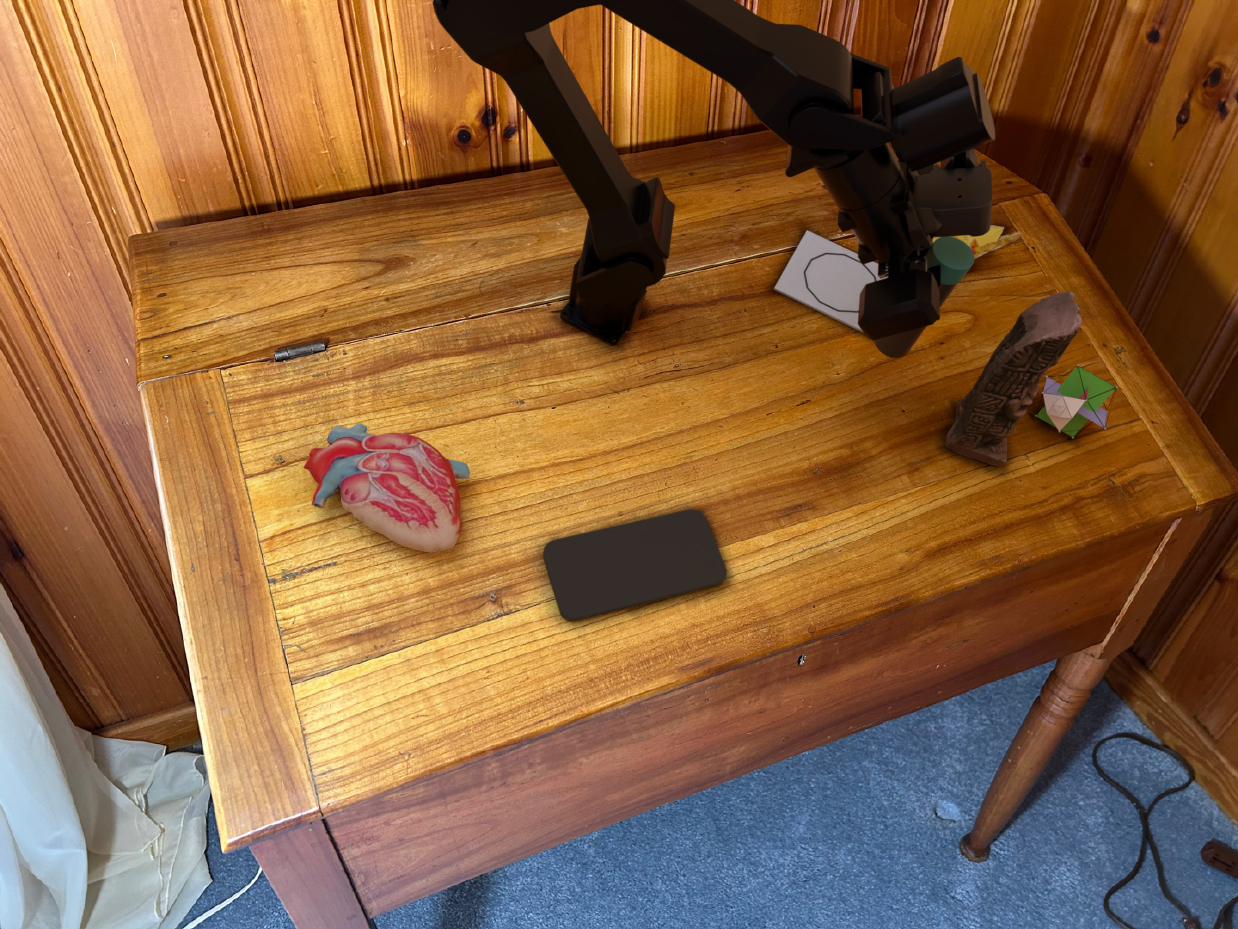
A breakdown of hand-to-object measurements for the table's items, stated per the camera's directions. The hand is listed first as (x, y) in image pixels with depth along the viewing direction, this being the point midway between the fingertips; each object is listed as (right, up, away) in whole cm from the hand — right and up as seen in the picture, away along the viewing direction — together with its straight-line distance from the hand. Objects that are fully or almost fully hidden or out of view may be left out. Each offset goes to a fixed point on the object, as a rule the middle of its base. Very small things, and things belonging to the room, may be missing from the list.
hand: (935, 303), depth 85 cm
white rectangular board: (-5, +5, +15) cm, 16 cm away
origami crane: (+9, +9, +20) cm, 23 cm away
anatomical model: (-49, -17, -5) cm, 52 cm away
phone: (-28, -24, -5) cm, 37 cm away
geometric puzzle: (+16, -10, +10) cm, 21 cm away
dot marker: (-2, -3, +6) cm, 7 cm away
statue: (+6, -12, +7) cm, 15 cm away
